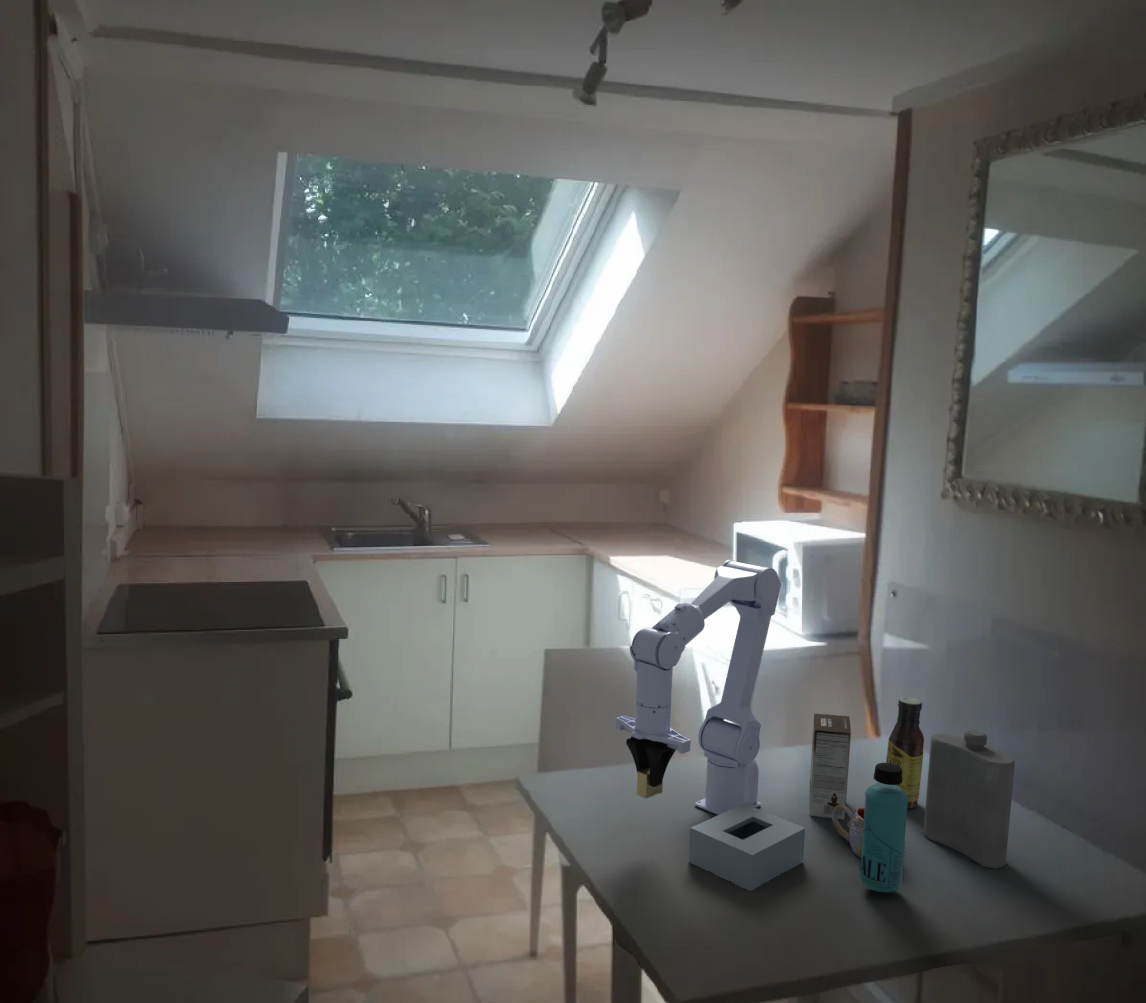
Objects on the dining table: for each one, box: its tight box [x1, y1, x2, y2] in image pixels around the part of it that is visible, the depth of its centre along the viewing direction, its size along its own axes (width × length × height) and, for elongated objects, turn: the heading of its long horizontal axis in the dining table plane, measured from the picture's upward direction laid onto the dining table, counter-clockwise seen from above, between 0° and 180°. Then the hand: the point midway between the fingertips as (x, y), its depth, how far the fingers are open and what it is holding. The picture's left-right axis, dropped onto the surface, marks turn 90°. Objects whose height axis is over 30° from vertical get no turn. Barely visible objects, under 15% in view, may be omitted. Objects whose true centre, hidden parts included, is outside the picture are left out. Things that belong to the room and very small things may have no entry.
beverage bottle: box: [858, 762, 908, 893], centre depth 156 cm, size 6×7×20 cm
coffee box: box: [808, 713, 852, 820], centre depth 186 cm, size 9×6×16 cm
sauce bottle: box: [885, 696, 925, 810], centre depth 188 cm, size 7×6×20 cm
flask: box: [923, 729, 1016, 870], centre depth 171 cm, size 15×6×20 cm, turn 31°
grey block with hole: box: [688, 804, 806, 892], centre depth 165 cm, size 14×12×6 cm
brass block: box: [636, 767, 664, 800], centre depth 170 cm, size 4×2×4 cm, turn 134°
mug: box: [831, 805, 865, 858], centre depth 172 cm, size 12×7×7 cm, turn 31°
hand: (650, 782), depth 170 cm, fingers closed on brass block, 2 cm apart
